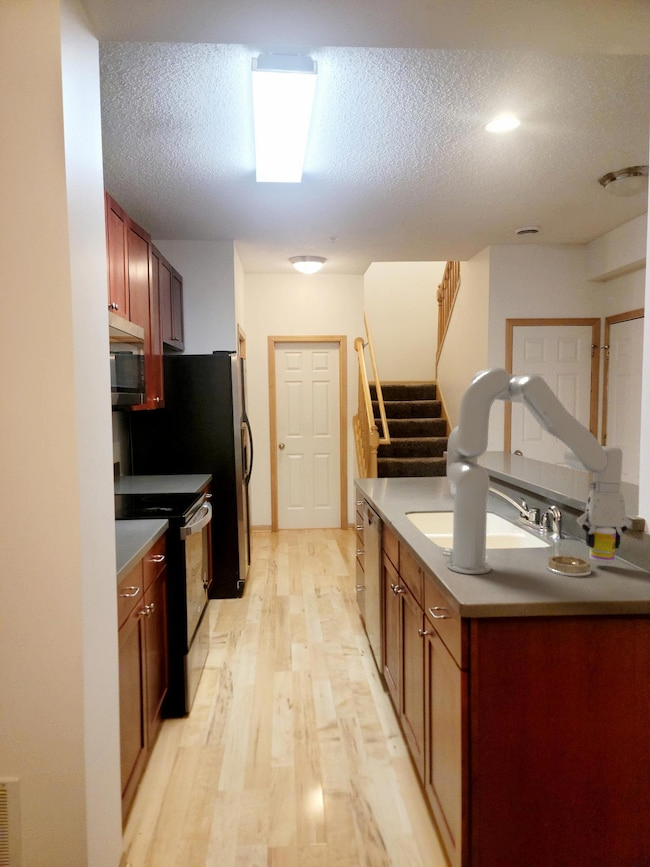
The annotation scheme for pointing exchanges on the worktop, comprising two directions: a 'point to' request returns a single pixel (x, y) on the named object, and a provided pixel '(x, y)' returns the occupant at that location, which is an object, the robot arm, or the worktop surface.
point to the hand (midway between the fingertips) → (602, 546)
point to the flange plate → (568, 566)
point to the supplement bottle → (603, 544)
